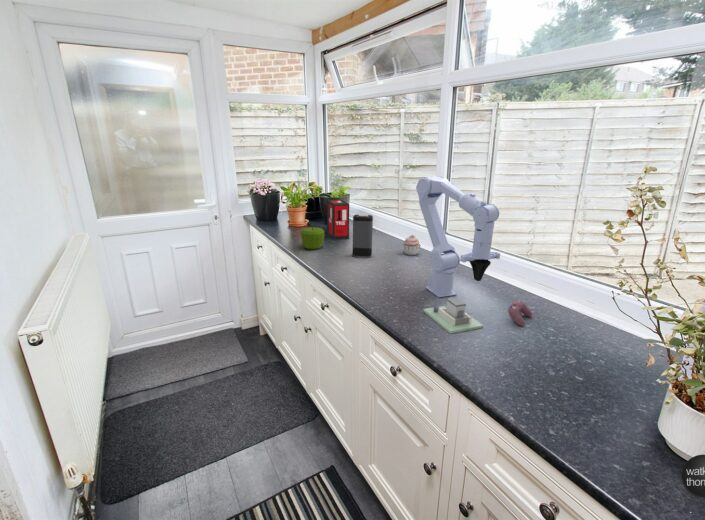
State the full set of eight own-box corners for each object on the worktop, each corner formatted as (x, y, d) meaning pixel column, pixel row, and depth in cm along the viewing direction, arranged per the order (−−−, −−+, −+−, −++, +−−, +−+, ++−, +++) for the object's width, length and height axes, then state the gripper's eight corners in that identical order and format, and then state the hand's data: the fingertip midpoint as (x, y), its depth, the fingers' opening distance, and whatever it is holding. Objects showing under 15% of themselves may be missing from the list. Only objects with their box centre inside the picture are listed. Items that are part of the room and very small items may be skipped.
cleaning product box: (348, 238, 215) (349, 204, 208) (333, 239, 212) (333, 204, 206) (341, 232, 230) (341, 199, 223) (327, 232, 227) (326, 200, 221)
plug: (445, 315, 121) (447, 299, 119) (454, 314, 122) (456, 297, 121) (455, 323, 116) (457, 306, 114) (464, 322, 117) (467, 304, 116)
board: (423, 311, 126) (423, 303, 125) (453, 306, 130) (454, 299, 129) (449, 333, 112) (450, 325, 111) (483, 327, 116) (484, 319, 115)
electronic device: (371, 254, 186) (373, 214, 180) (371, 258, 181) (372, 217, 175) (353, 253, 187) (353, 214, 181) (352, 257, 182) (352, 216, 175)
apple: (323, 251, 190) (323, 230, 186) (299, 251, 190) (298, 229, 186) (325, 244, 201) (325, 224, 198) (303, 244, 202) (302, 224, 198)
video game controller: (519, 317, 126) (513, 298, 126) (533, 315, 123) (526, 295, 123) (510, 328, 119) (503, 307, 119) (525, 326, 116) (518, 305, 116)
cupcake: (400, 255, 185) (401, 236, 182) (402, 250, 194) (404, 231, 191) (419, 257, 183) (421, 237, 180) (421, 252, 192) (422, 233, 189)
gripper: (471, 246, 117) (466, 286, 121) (508, 243, 122) (502, 281, 126) (458, 240, 124) (454, 279, 128) (494, 237, 128) (489, 274, 132)
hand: (477, 279), depth 127 cm, fingers closed
